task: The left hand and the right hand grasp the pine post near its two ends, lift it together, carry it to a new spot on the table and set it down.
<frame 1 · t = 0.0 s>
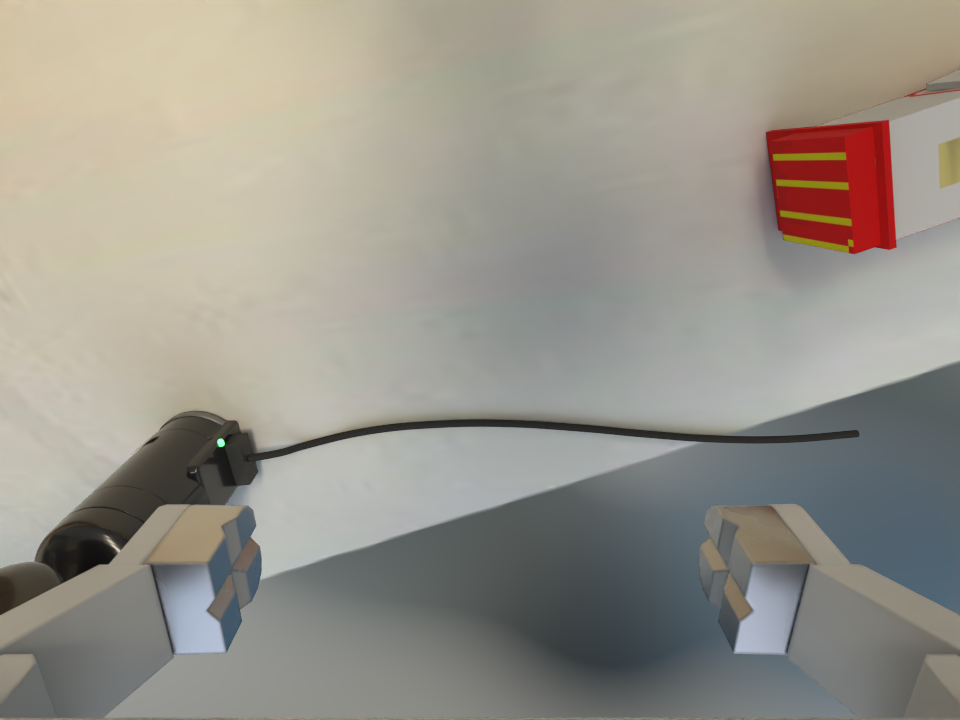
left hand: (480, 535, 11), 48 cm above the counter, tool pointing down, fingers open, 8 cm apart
toy: (922, 133, 53), on the counter
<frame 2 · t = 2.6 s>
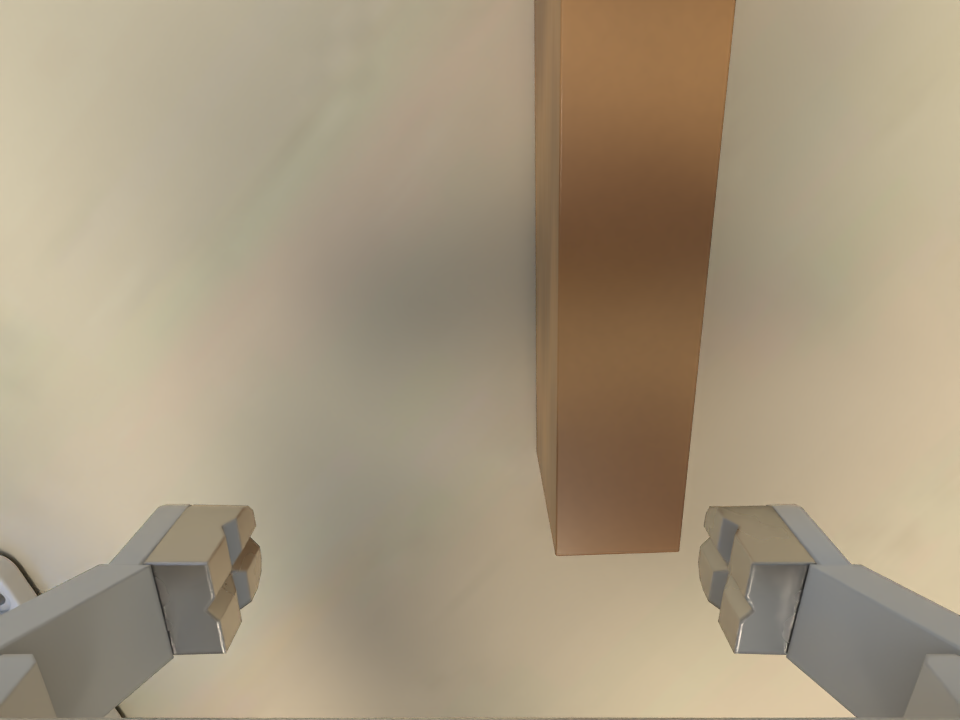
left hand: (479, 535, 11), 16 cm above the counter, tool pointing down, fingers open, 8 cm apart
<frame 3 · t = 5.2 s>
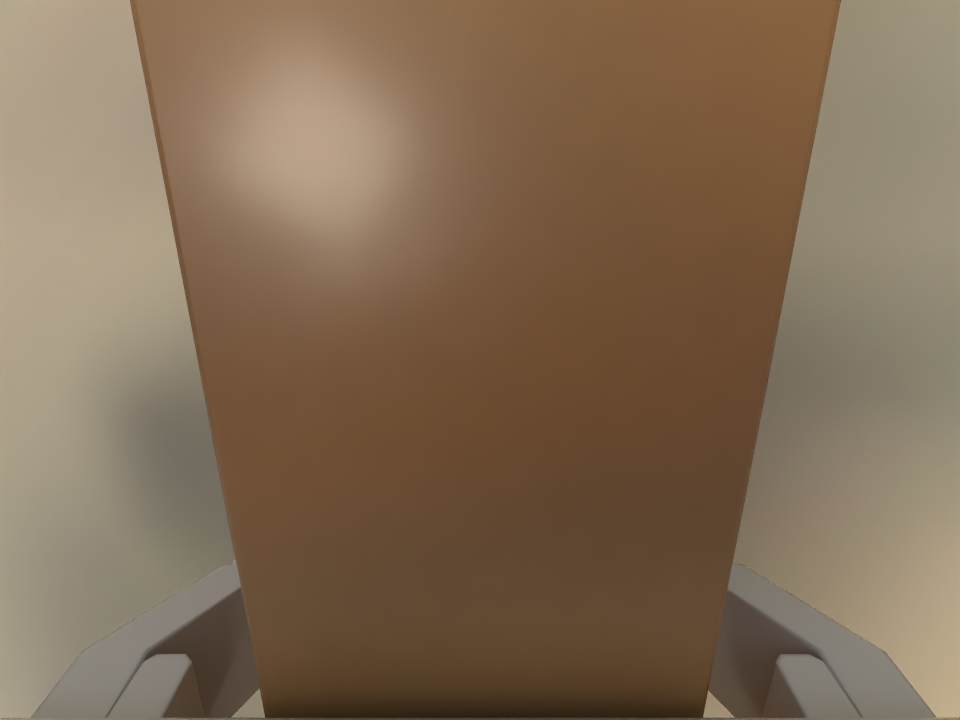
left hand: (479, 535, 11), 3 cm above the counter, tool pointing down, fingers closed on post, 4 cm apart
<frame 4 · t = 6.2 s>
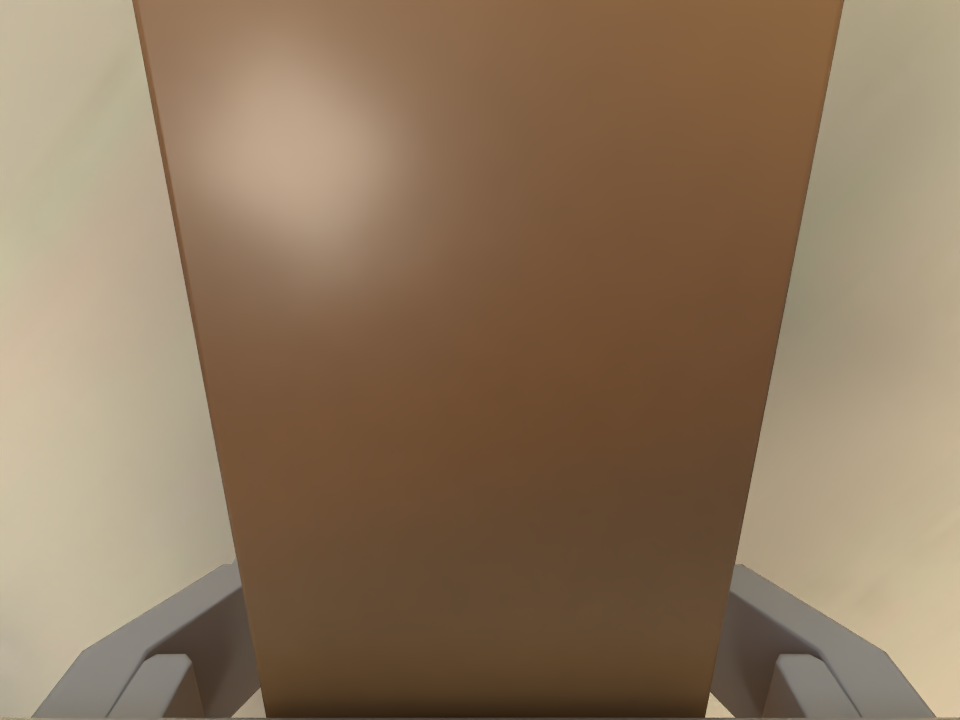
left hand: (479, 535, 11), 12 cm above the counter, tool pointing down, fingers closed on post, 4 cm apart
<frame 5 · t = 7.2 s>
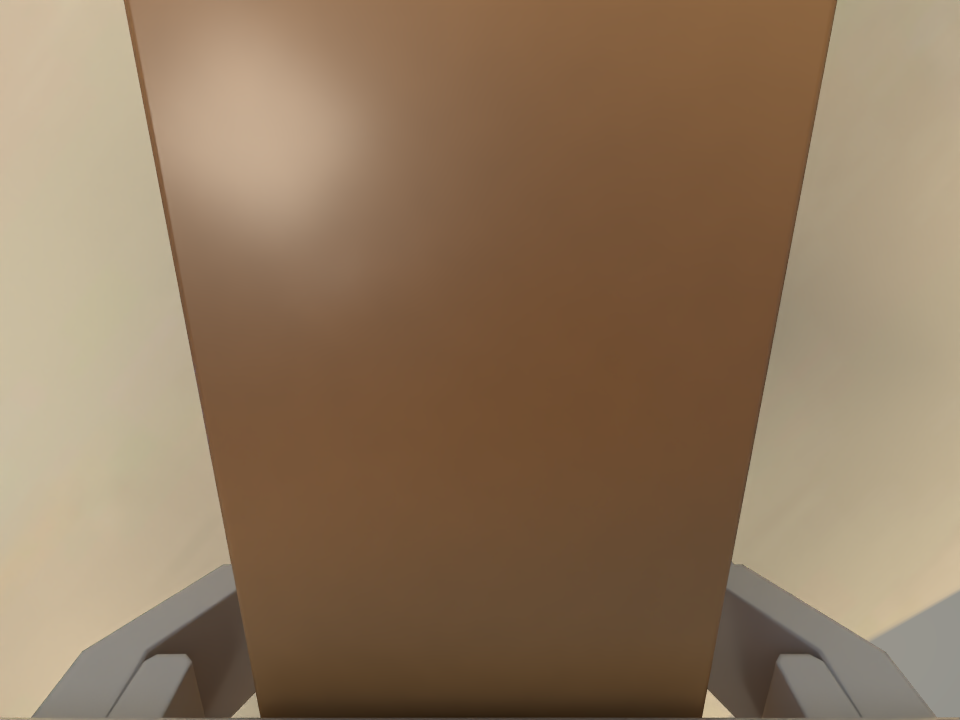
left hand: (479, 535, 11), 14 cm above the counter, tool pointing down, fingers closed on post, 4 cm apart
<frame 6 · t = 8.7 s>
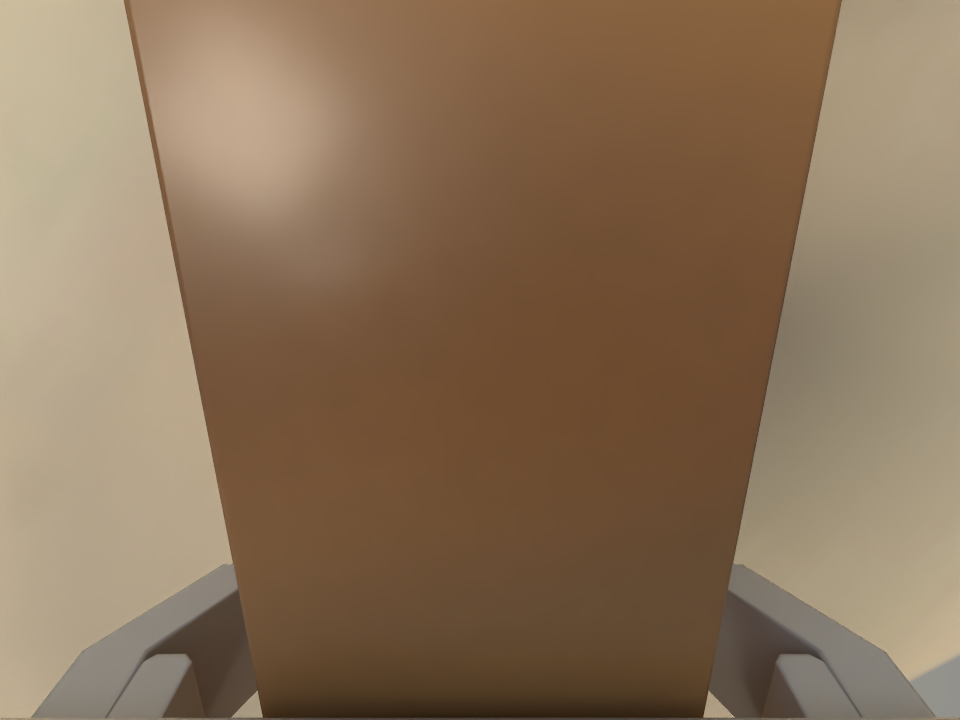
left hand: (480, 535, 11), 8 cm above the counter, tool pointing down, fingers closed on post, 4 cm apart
when the left hand's fingers open (4 cm above the counter, at t = 9.6 s): post drops 1 cm, on the counter.
when the right hand's fingers open (4 cm above the counter, at t = 9.6 s): post drops 1 cm, on the counter.
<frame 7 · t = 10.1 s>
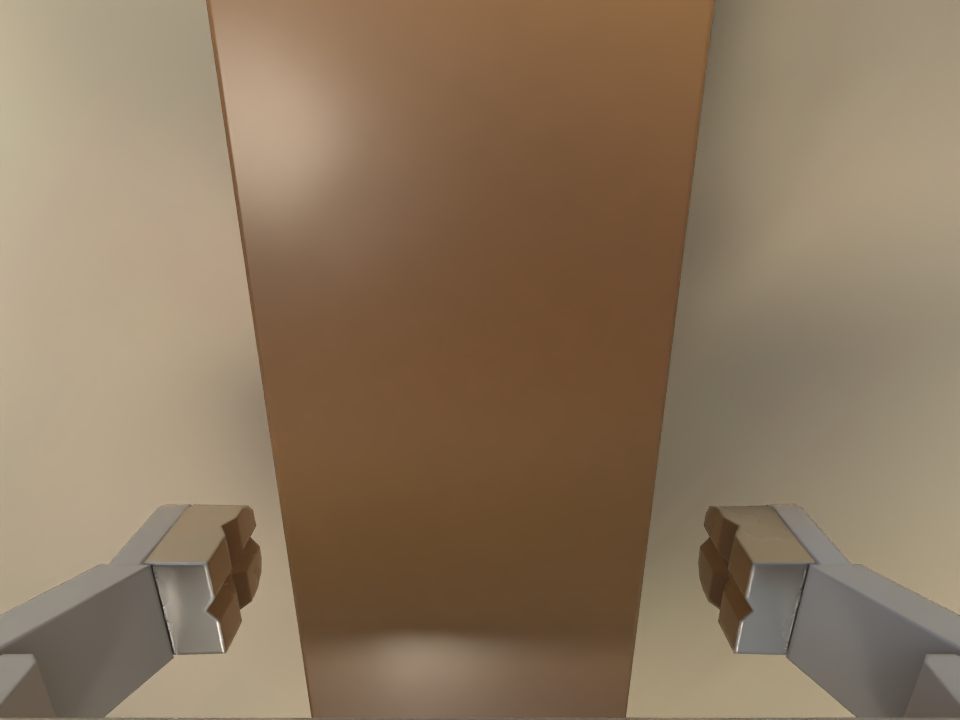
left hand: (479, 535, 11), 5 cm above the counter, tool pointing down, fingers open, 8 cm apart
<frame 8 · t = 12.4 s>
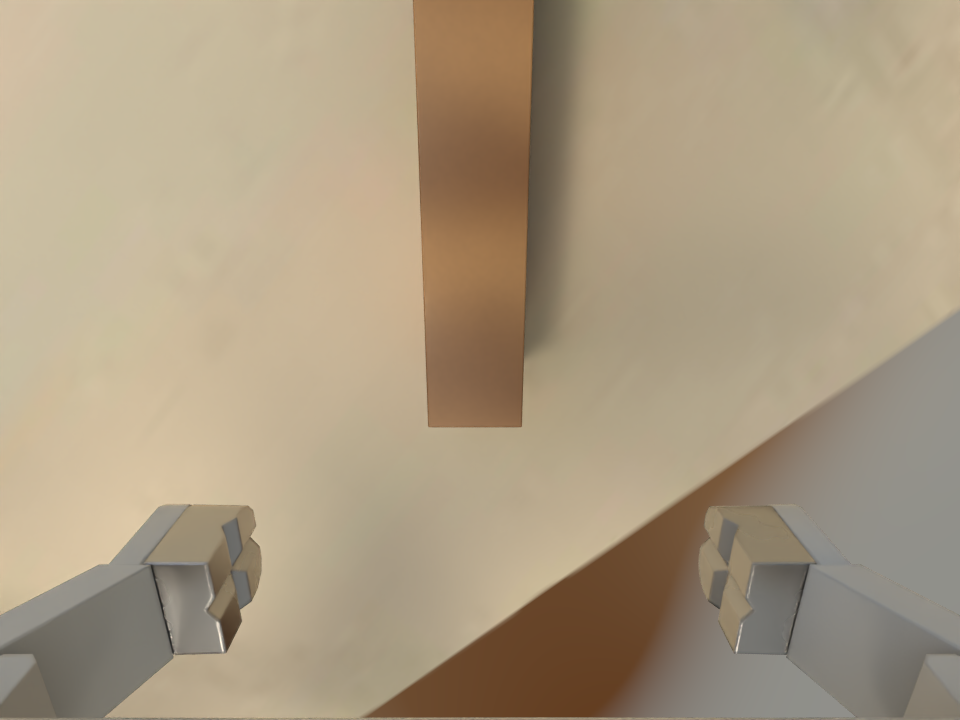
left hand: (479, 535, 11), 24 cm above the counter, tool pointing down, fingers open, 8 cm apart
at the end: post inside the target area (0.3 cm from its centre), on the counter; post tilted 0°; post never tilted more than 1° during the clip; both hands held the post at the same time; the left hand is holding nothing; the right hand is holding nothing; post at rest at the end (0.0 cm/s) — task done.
